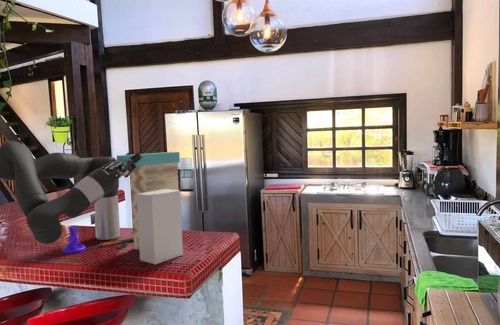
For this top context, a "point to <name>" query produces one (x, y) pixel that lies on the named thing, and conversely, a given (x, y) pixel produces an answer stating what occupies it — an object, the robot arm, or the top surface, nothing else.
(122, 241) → the toy rifle
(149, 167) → the stand
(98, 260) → the top surface
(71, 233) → the figurine
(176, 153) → the teal long bar
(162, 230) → the white tall block
